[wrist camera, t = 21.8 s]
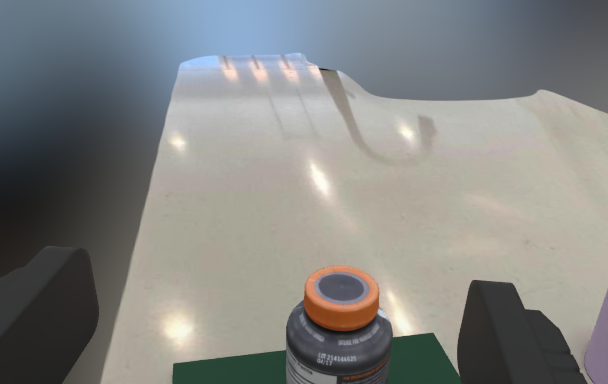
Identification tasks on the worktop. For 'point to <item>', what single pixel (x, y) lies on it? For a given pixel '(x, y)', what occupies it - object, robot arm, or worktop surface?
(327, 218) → the worktop surface
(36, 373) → the robot arm
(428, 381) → the mat
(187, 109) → the worktop surface
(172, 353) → the worktop surface
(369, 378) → the pill bottle
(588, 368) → the clip
